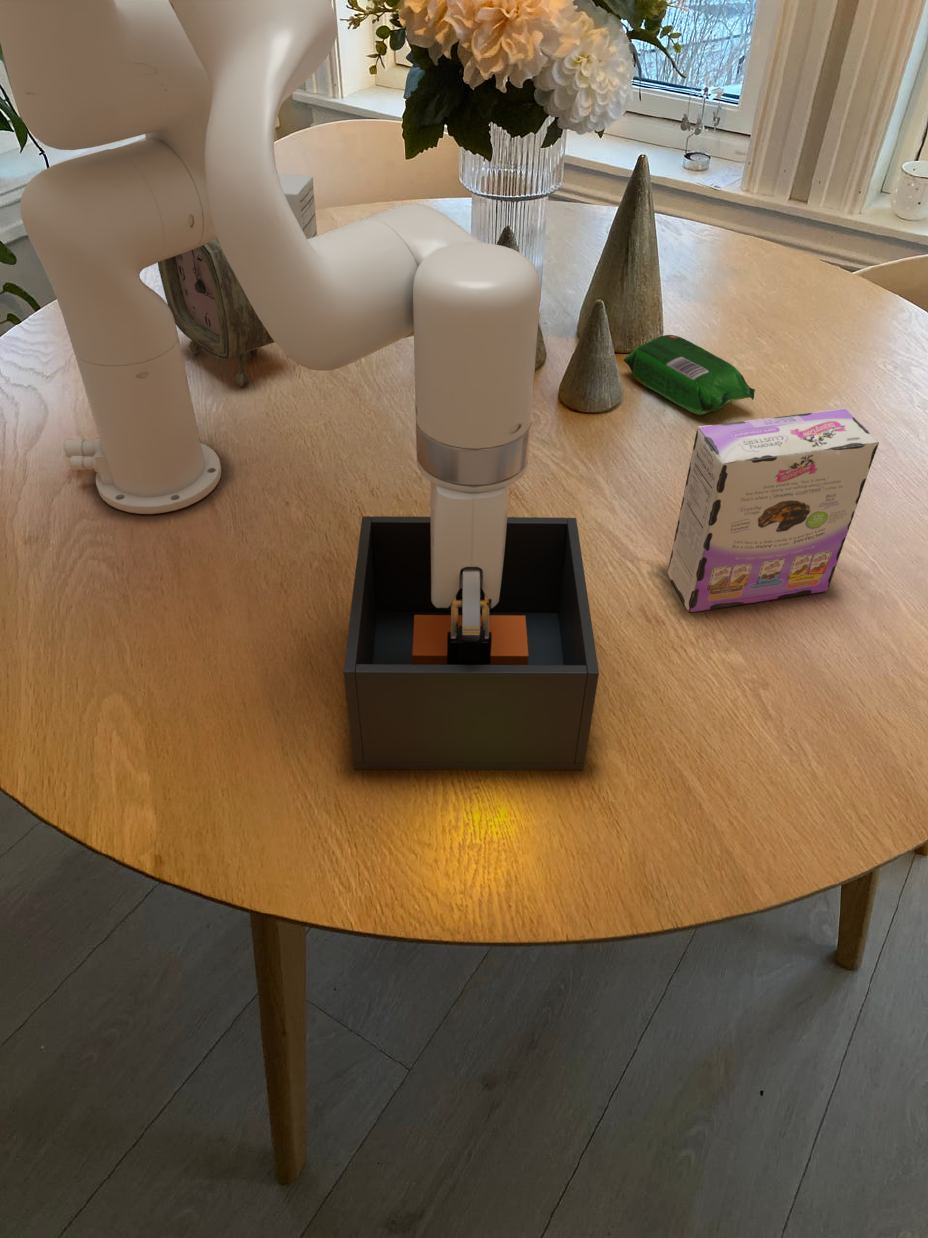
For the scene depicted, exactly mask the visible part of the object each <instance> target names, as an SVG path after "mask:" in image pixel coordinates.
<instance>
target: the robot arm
mask: <svg viewBox="0 0 928 1238" xmlns="http://www.w3.org/2000/svg"><path fill="white" fill-rule="evenodd" d="M337 35H338V23H337V16H336V13H335V10H334V7H333V5H332V4H331V2H330V0H0V46H1V47H0V48H1V51H2V56H3V59H4V63H5V67H6V72H7V76H8V80H9V83H10V87H11V91H12V94H13V98H14V100H15V104H16V107H17V109H18V112H19V114H20V117H21V119H22V121H23V123H24V126H26V128H27V130H28V131H29V132H30V134H31V135H32V136H33V137H34V138H35V139H36V140H37V141H39V142H40V143H42V144H43V145H45V146H47V147H49V148H53V149H55V150H59V151H60V150H61V151H77V150H87V149H91V148H96V147H101V146H105V145H109V144H113V143H116V142H121V141H124V140H128V139H132V138H136V137H139V136H143V135H144V137H145V139H143V140H140V141H136V142H132V143H129V144H124V145H121V146H118V147H114V148H106V149H103V150H99V151H96V152H92V153H89V154H85V155H81V156H78V157H74V158H71V159H67V160H64V161H61V162H58V163H55V164H52V165H51V166H49V167H47V168H46V169H43V170H41V171H40V172H38V173H37V174H35V176H34V177H32V178H31V179H30V181H28V183H26V185H25V187H24V189H23V191H22V194H21V197H20V207H19V208H20V217H21V220H22V224H23V226H24V230H25V232H26V234H27V238H28V239H29V242H30V243H31V245H32V247H33V249H34V252H35V253H36V256H37V258H38V260H39V262H40V263H41V266H42V268H43V271H44V273H45V274H46V276H47V279H48V281H49V283H50V286H51V288H52V290H53V293H54V295H55V298H56V301H57V303H58V306H59V309H60V311H61V314H62V318H63V320H64V321H63V322H64V324H65V327H66V331H67V333H68V337H69V340H70V345H71V347H72V350H73V353H74V356H75V361H76V364H77V367H78V370H79V374H80V377H81V381H82V385H83V388H84V391H85V394H86V398H87V401H88V404H89V408H90V412H91V415H92V418H93V422H94V425H95V429H96V433H97V437H96V438H95V440H93V439H91V440H90V439H89V440H88V439H87V440H86V439H66V440H65V441H64V454H65V456H66V458H68V459H69V463H70V464H69V465H70V468H71V469H72V470H94V471H95V472H96V475H95V485H96V489H97V491H98V495H99V496H100V497H101V499H102V500H103V501H104V502H105V503H106V504H108V505H109V506H110V507H113V508H115V509H117V510H119V511H123V512H127V513H132V514H140V515H155V514H164V513H169V512H173V511H178V510H181V509H184V508H187V507H189V506H191V505H194V504H196V503H198V502H199V501H201V500H202V499H204V498H206V497H207V496H208V495H209V494H211V492H213V490H214V489H215V488H216V487H217V485H218V484H219V482H220V479H221V477H222V466H221V465H222V464H221V460H220V458H219V456H218V454H217V453H216V452H215V450H214V449H213V448H211V447H210V446H208V445H207V444H205V443H202V442H201V437H200V434H199V429H198V424H197V419H196V414H195V410H194V405H193V399H192V395H191V390H190V385H189V381H188V376H187V372H186V371H187V370H186V366H185V361H184V357H183V352H182V347H181V342H180V337H179V333H178V329H177V328H178V327H177V325H176V323H175V320H174V316H173V314H172V311H171V309H170V308H169V306H168V304H167V301H166V299H165V298H163V297H162V296H161V295H160V294H159V293H157V292H156V291H155V290H154V289H152V288H151V287H149V286H148V285H147V284H146V283H145V282H144V281H143V280H142V279H141V275H140V274H141V272H142V271H143V270H145V269H146V268H149V267H152V266H154V265H156V264H158V262H160V261H162V260H165V259H168V258H171V257H174V256H176V255H179V254H182V253H185V252H188V251H190V250H193V249H195V248H198V247H200V246H203V245H205V244H207V243H209V242H210V241H212V240H213V239H215V238H216V237H217V238H218V241H219V243H220V246H221V248H222V251H223V253H224V255H225V257H226V259H227V261H228V263H229V264H230V266H231V268H232V270H233V272H234V274H235V276H236V277H237V279H238V281H239V283H240V285H241V287H242V289H243V290H244V292H245V294H246V296H247V298H248V300H249V302H250V304H251V305H252V307H253V309H254V311H255V312H256V314H257V316H258V318H259V319H260V321H261V322H262V324H263V325H264V327H265V328H266V330H267V331H268V333H269V335H270V336H271V337H272V339H273V340H274V341H275V342H274V343H275V344H276V345H277V346H278V347H279V349H280V350H281V351H282V352H283V353H284V355H286V356H287V357H289V358H290V359H291V360H292V361H294V362H295V363H296V364H297V365H300V366H302V367H304V368H306V369H310V370H312V371H334V370H338V369H341V368H344V367H346V366H349V365H351V364H353V363H356V362H358V361H359V360H361V359H364V358H366V357H368V356H370V355H372V354H374V353H376V352H378V351H380V350H382V349H384V348H386V347H388V346H390V345H392V344H395V343H397V342H399V341H401V340H403V339H406V338H410V337H413V359H414V360H413V361H414V365H413V366H414V405H415V406H414V408H415V410H414V411H415V442H416V444H415V445H416V447H415V448H416V449H415V450H416V451H415V452H416V455H415V456H416V466H417V468H418V470H419V471H420V473H421V475H422V476H423V477H424V478H426V479H427V480H428V481H429V482H430V503H429V505H430V508H429V509H430V510H429V511H430V514H429V517H430V520H431V602H432V603H433V605H434V606H435V607H436V608H448V607H449V606H450V605H451V632H447V665H490V660H491V641H492V632H489V606H490V607H491V608H493V607H494V606H496V605H497V603H498V602H499V596H500V588H501V580H502V571H503V561H504V551H505V540H506V527H507V517H508V511H509V497H510V486H512V485H513V484H515V483H516V482H517V481H519V480H520V479H521V478H522V477H523V476H524V475H525V473H526V472H527V469H528V467H529V457H530V444H531V443H530V442H531V433H532V432H531V431H532V419H533V418H532V417H533V416H532V415H533V403H534V390H535V379H536V376H535V375H536V362H537V348H538V336H539V335H538V334H539V323H540V322H539V321H540V310H541V309H540V307H541V282H540V276H539V273H538V270H537V269H536V267H535V265H534V264H533V262H532V260H530V259H529V258H528V257H527V256H526V255H524V254H523V253H521V252H519V251H518V250H515V249H514V248H511V247H507V246H504V245H501V244H495V243H489V242H483V241H481V240H480V239H478V238H477V237H475V236H474V235H473V234H471V233H470V232H469V231H468V230H466V229H465V228H464V227H462V226H461V225H460V224H458V223H457V222H456V221H454V220H453V219H451V218H450V217H449V216H448V215H446V214H445V213H443V212H442V211H440V210H438V209H435V208H434V207H431V206H430V205H429V206H428V205H426V204H421V203H406V204H400V205H397V206H394V207H391V208H388V209H386V210H383V211H381V212H378V213H375V214H373V215H370V216H368V217H365V218H360V219H357V220H355V221H353V222H350V223H347V224H344V225H341V226H339V227H336V228H333V229H331V230H329V231H326V232H323V233H321V234H317V236H315V237H312V238H310V239H307V238H306V236H305V235H304V233H303V231H302V229H301V227H300V225H299V223H298V221H297V219H296V217H295V216H294V214H293V212H292V210H291V208H290V206H289V204H288V201H287V199H286V197H285V194H284V191H283V189H282V186H281V183H280V180H279V176H278V174H279V172H278V168H277V164H276V163H277V162H276V155H275V130H276V125H277V120H278V115H279V112H280V109H281V107H282V105H283V103H284V102H285V101H286V100H287V99H288V98H289V97H290V96H291V95H292V94H294V92H296V91H297V90H298V89H299V88H300V87H301V86H302V85H303V84H304V83H305V82H306V81H307V80H308V79H310V78H311V77H312V75H313V74H315V72H316V71H317V70H318V69H319V68H320V67H321V66H322V64H323V63H324V62H325V60H326V59H327V58H328V56H329V54H330V53H331V51H332V49H333V47H334V45H335V43H336V40H337ZM457 593H462V598H456V595H457ZM483 593H484V598H480V594H483ZM458 608H462V626H459V628H458ZM480 608H482V624H481V626H480Z"/></svg>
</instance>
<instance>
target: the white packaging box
mask: <svg viewBox="0 0 928 1238" xmlns="http://www.w3.org/2000/svg"><path fill="white" fill-rule="evenodd" d="M278 176H279V180H280V183H281V186H282V189H283V191H284V194H285V197H286V199H287V201H288V204H289V206H290V208H291V210H292V212H293V214H294V216H295V217H296V219H297V221H298V223H299V225H300V227H301V229H302V231H303V233H304V235H305V236H306V238H307V239H310V238H312V237H315V236H318V227H317V226H318V225H317V216H316V215H317V213H316V206H315V205H316V204H315V203H316V202H315V192H314V177H313V176H312V175H311V176H310V175H297V174H285V173H278Z"/></svg>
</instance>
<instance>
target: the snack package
mask: <svg viewBox="0 0 928 1238" xmlns="http://www.w3.org/2000/svg"><path fill="white" fill-rule="evenodd" d="M622 361H623V362H624V363H625V364H626V365H627V366H628V367H629V370H630V371H631V373H632V375H633V377H634V379H636V381H638V382H639V383H640V384H641V385H642V386H644V387H646V388H648V389H649V390H651V391H653V392H655V393H657V394H658V395H660V396H662V397H663V398H665V399H667V400H669V401H670V402H672V403H674V404H676V405H677V406H679V407H681V408H683V409H684V410H687V411H688V412H690V413H692V414H695V415H698V416H703V415H705V414H708V413H710V412H716V411H719V410H720V409H722V408H723V407H724V406H725V405H726V404H728V403H732V402H735V401H738V400H744V399H748V398H749V399H751V400H752V401H754V399H755V393H756V389H755V388H752V387H751V386H750V385H749V384H748V383H747V382H746V380H745V377H744V376H743V375H742V373H741V372H740V371H739V370H738V369H737V368H736V367H735V366H734V365H733V364H732V363H729V362H728V361H726V360H724V359H723V358H721V357H719V356H717V355H715V354H714V353H712V352H710V351H708V350H706V349H704V348H703V347H701V346H699V345H697V344H695V343H693V342H692V341H689V340H687V339H685V338H683V337H681V336H678V335H674V334H665V335H661V336H657V337H655V338H653V339H651V340H650V341H648V342H645V343H642V344H641V345H639V346H637V347H635V348H634V349H633V350H632V351H631V352H630V353H629V354H628V355H627V356H626V357H625V358H623V360H622Z"/></svg>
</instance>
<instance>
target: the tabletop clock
mask: <svg viewBox="0 0 928 1238" xmlns="http://www.w3.org/2000/svg"><path fill="white" fill-rule="evenodd" d="M157 267H158V272H159V276H160V280H161V284H162V289H163V293H164V296H165V301H166V303H167V304H168V306H169V308H170V309H171V311H172V314H173V316H174V320H175V323H176V328H178V329H179V331H181V332H182V334H183V335H184V336H185V337H187V338H188V339H189V340H190V342H189V343H188V350H189V351H190V352H191V353H192V354H196V355H197V354H200V353H201V352H202V350H203V351H206V352H207V353H209V354H210V355H212V356H213V357H215V358H218V359H220V360H224V361H225V360H231V359H233V358H236V357H237V360H238V368H239V373H237V374H236V375H235V383H236V384H237V386H239V387H242V388H243V387H246V386H247V385H248V384H249V383H250V376H249V374H247V373H246V372H245V371H246V370H245V369H246V357H248V358H249V359H254V358H256V357H257V355H258V352H259V351H258V349H260V348H262V347H265V346H268V345H271V344H273V343H275V341H274V340H273V339H272V337H271V336H270V335H269V333H268V331H267V330H266V328H265V327H264V325H263V324H262V322H261V321H260V319H259V318H258V316H257V314H256V312H255V311H254V309H253V307H252V305H251V304H250V302H249V300H248V298H247V296H246V294H245V292H244V290H243V289H242V287H241V285H240V283H239V281H238V279H237V277H236V276H235V274H234V272H233V270H232V268H231V266H230V264H229V263H228V261H227V259H226V257H225V255H224V253H223V251H222V248H221V246H220V243H219V241H218V238H217V237H216V238H215V239H213V240H212V241H210V242H209V243H207V244H205V245H203V246H200V247H198V248H195V249H193V250H190V251H188V252H185V253H182V254H179V255H176V256H174V257H171V258H168V259H165V260H162V261H160V262H157Z"/></svg>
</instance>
